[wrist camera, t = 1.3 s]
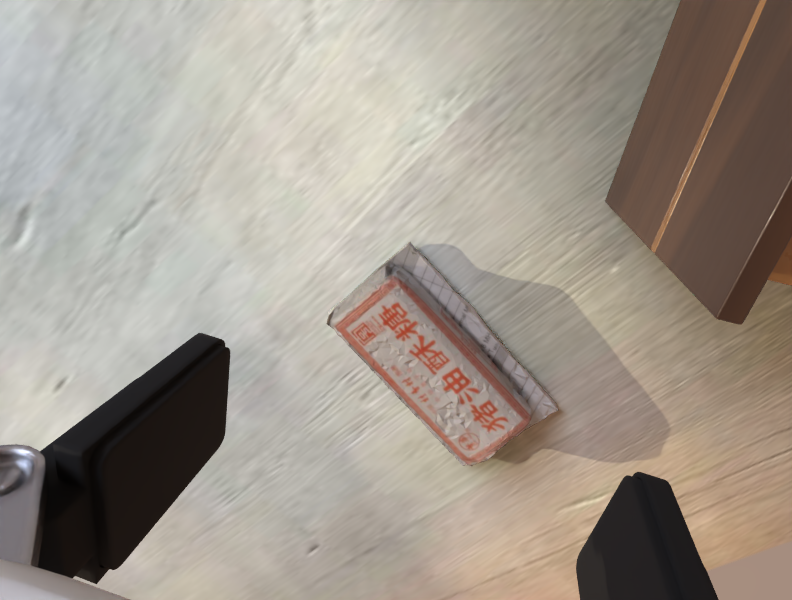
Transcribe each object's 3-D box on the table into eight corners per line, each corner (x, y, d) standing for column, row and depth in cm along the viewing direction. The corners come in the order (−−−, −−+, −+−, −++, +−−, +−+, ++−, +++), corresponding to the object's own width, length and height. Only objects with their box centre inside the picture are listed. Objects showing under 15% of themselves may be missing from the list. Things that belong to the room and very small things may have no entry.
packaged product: (304, 336, 35) (398, 256, 31) (327, 311, 40) (411, 237, 36) (460, 495, 38) (565, 440, 34) (465, 455, 42) (559, 402, 38)
